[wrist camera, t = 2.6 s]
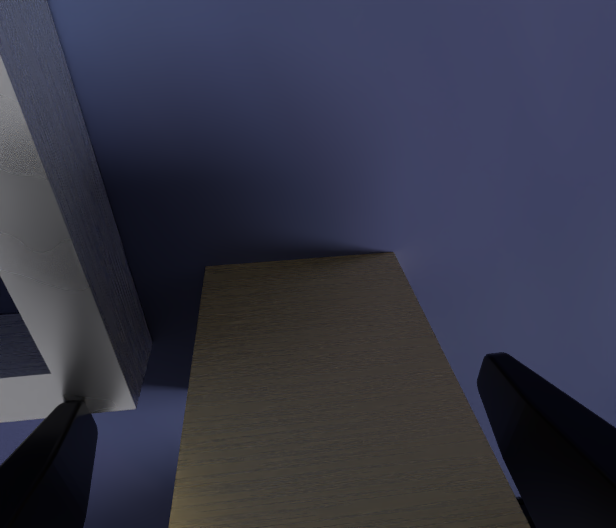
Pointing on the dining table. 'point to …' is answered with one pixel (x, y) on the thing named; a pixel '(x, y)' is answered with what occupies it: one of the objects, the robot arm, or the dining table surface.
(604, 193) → the dining table surface
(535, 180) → the dining table surface
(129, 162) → the dining table surface
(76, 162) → the rail
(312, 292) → the golden block
